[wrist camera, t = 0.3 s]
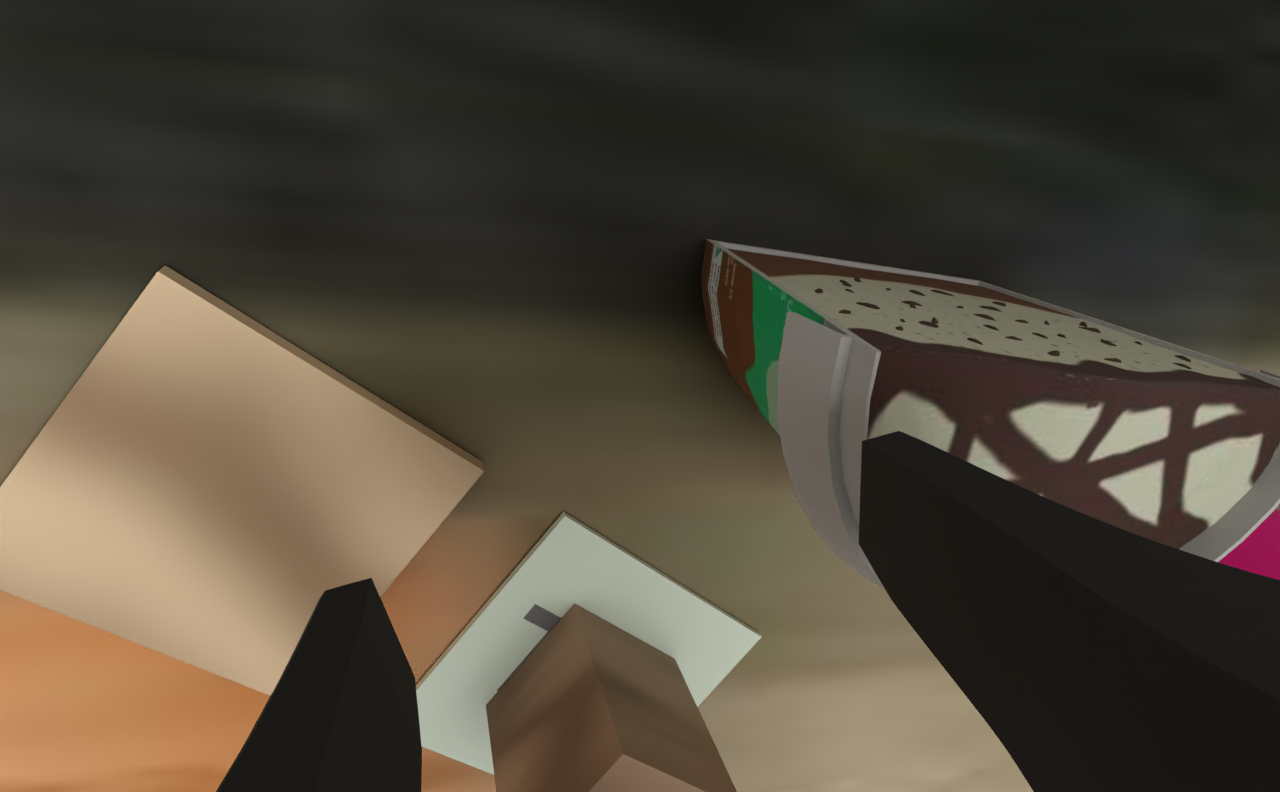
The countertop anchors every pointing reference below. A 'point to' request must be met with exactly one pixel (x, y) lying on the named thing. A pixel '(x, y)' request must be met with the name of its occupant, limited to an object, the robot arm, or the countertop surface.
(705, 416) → the countertop surface
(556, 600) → the tile
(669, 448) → the countertop surface
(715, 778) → the block
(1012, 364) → the food container
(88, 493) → the coaster
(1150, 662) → the robot arm
